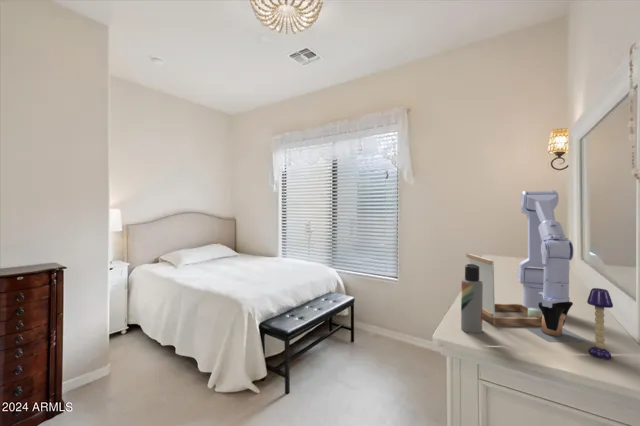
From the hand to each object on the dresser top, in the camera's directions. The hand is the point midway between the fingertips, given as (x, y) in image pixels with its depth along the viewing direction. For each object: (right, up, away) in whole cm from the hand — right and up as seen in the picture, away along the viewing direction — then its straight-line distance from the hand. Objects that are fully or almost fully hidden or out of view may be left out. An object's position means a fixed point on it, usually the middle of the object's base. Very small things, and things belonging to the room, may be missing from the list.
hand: (555, 327), depth 82 cm
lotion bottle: (-23, -2, +3) cm, 23 cm away
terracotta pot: (-1, -2, +1) cm, 2 cm away
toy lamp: (+2, -3, -11) cm, 11 cm away
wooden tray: (-5, -2, +13) cm, 14 cm away
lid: (-14, +10, +13) cm, 21 cm away
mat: (0, -2, 0) cm, 2 cm away
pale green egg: (+1, -2, +9) cm, 9 cm away
